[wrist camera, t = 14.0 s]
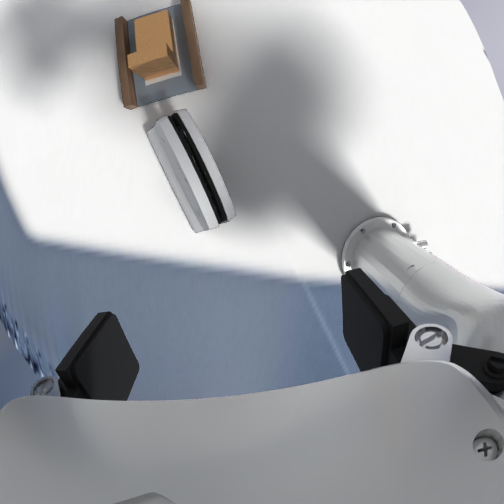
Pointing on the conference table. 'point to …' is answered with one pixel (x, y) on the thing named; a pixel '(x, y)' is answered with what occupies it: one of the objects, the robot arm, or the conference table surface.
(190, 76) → the bay mat
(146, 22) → the bracket
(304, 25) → the conference table surface
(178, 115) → the grey slotted curved block
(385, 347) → the robot arm
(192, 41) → the bay walls
